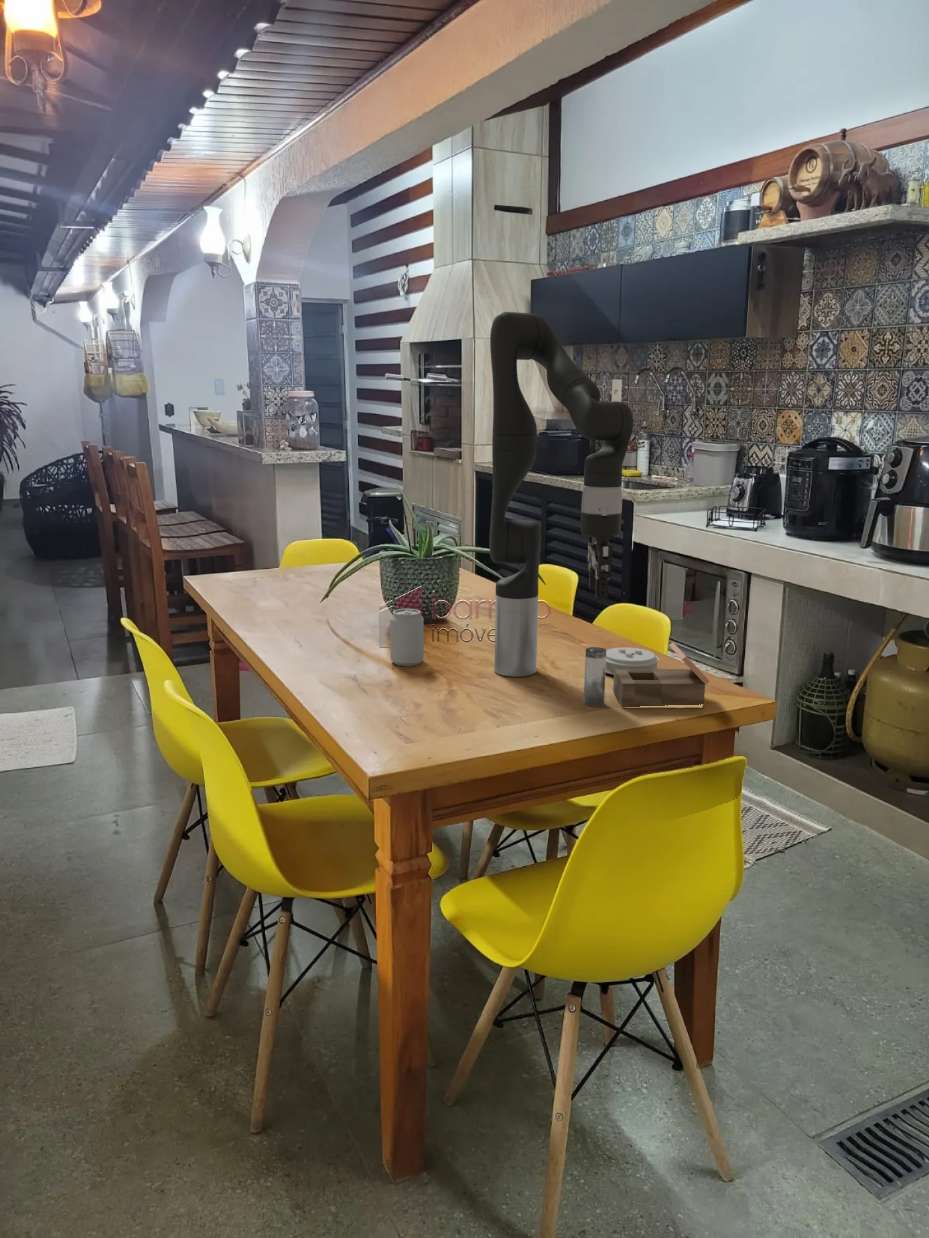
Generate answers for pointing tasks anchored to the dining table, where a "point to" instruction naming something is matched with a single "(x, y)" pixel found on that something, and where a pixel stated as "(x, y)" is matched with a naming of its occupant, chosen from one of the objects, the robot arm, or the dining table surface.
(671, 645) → the pink flat board
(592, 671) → the pin
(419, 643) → the can
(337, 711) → the dining table surface
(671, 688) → the socket block
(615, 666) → the lid
